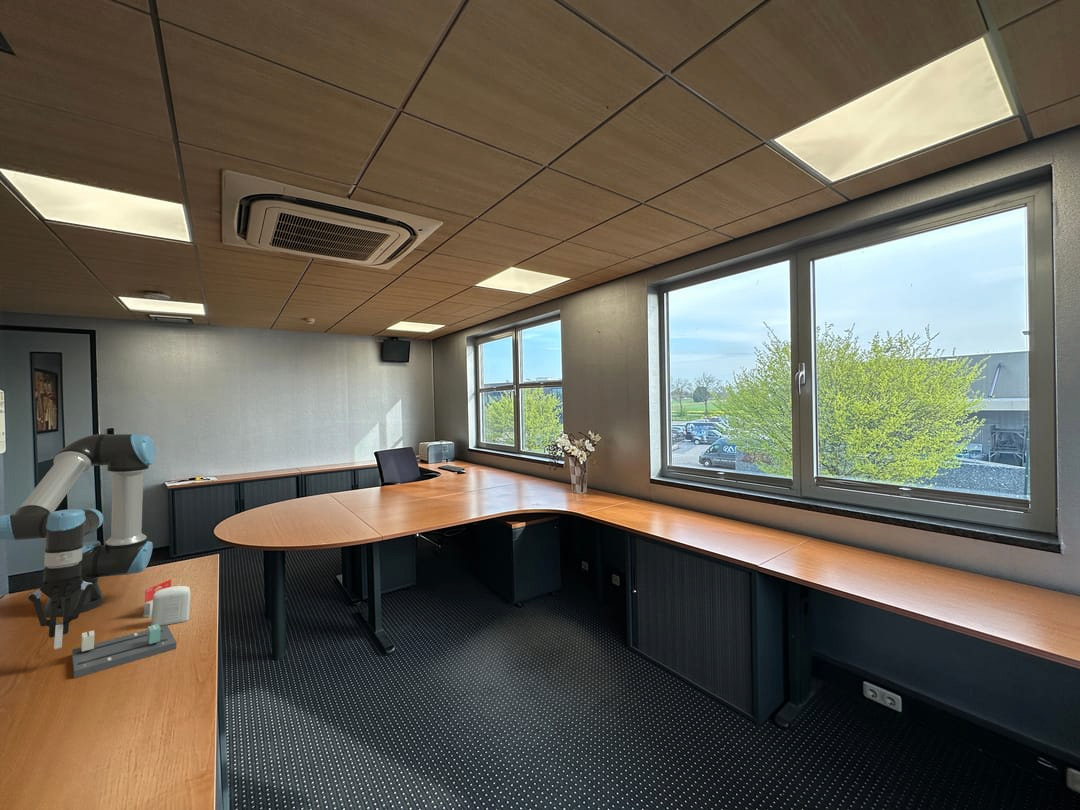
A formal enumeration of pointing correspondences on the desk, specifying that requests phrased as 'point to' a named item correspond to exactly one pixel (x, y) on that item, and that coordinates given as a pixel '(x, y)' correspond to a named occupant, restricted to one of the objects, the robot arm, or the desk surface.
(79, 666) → the console
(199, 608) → the desk surface
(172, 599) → the photo printer
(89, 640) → the ivory fader
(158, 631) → the teal fader
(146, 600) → the ink cartridge box
